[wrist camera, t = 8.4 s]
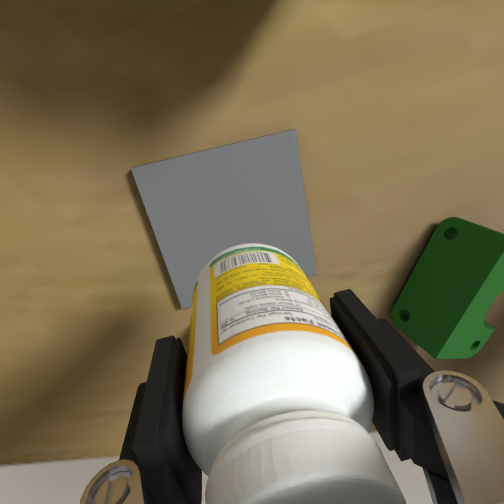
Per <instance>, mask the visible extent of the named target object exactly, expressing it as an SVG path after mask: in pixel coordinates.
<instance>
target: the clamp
mask: <svg viewBox="0 0 504 504" xmlns="http://www.w3.org/2000/svg"><path fill="white" fill-rule="evenodd" d="M502 291H504V234H503V233H500V232H497V231H495V230H492V229H489V228H486V227H483V226H481V225H478V224H475V223H472V222H469V221H466V220H463V219H460V218H456V217H451V218H447V219H445V220H443V221H442V222H441V223H440V224H439V225H438V226H437V228H436V230H435V231H434V233H433V235H432V237H431V239H430V241H429V242H428V244H427V246H426V248H425V250H424V252H423V253H422V255H421V257H420V259H419V261H418V263H417V265H416V266H415V268H414V270H413V272H412V274H411V276H410V277H409V279H408V281H407V283H406V285H405V287H404V289H403V290H402V292H401V294H400V296H399V298H398V300H397V301H396V303H395V305H394V307H393V309H392V320H393V322H394V324H395V325H396V327H397V328H399V329H400V330H401V331H402V332H403V333H405V334H406V335H407V336H408V337H409V338H411V339H412V340H413V341H414V342H415V343H417V344H418V345H419V346H420V347H421V348H423V349H424V350H425V351H426V352H427V353H429V354H430V355H431V356H432V357H433V358H435V359H457V358H470V357H472V356H474V355H475V354H476V353H478V352H479V351H480V350H481V349H482V347H483V346H484V344H485V343H486V342H487V340H488V339H489V337H490V336H491V334H492V333H493V331H494V330H495V328H494V327H492V326H491V325H489V324H488V323H486V322H484V318H485V315H486V312H487V310H488V308H489V307H490V305H491V304H492V302H493V301H494V300H495V298H496V297H497V296H498V295H499V294H500V293H501V292H502Z"/></svg>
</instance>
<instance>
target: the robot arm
mask: <svg viewBox="0 0 504 504" xmlns="http://www.w3.org/2000/svg"><path fill="white" fill-rule="evenodd" d="M330 307H331V314H332V318H333V319H334V321H335V322H336V324H337V325H338V327H339V329H340V330H341V332H342V333H343V335H344V336H345V338H346V339H347V341H348V343H349V344H350V346H351V347H352V349H353V350H354V352H355V353H356V355H357V357H358V358H359V360H360V361H361V363H362V365H363V366H364V368H365V370H366V372H367V374H368V377H369V379H370V382H371V385H372V390H373V396H374V412H373V419H372V422H373V424H374V426H375V427H376V429H377V431H378V433H379V434H380V436H381V438H382V440H383V441H384V443H385V445H386V447H387V448H388V450H390V451H392V450H395V451H396V453H397V455H398V457H399V458H400V460H401V461H404V460H408V459H412V461H413V463H414V464H416V465H418V466H421V467H423V471H424V474H425V477H426V480H427V484H428V487H429V490H430V494H431V497H432V501H433V504H504V404H503V403H499V402H496V401H493V400H492V399H491V398H490V396H489V394H488V393H487V391H486V390H485V389H484V388H483V386H482V385H481V384H480V383H478V382H477V381H476V380H474V379H473V378H471V377H469V376H467V375H465V374H462V373H458V372H455V371H446V370H443V371H436V372H434V371H433V369H432V368H431V367H430V366H429V365H428V364H427V363H426V362H425V361H424V360H423V359H422V358H421V356H420V355H419V354H418V353H417V352H416V351H415V350H414V349H413V348H412V347H411V346H410V345H409V344H408V342H407V341H406V340H405V339H404V338H403V337H402V336H401V335H400V334H399V333H398V332H397V331H396V330H395V328H394V327H393V326H392V325H391V324H390V323H389V322H388V321H387V320H386V319H383V318H382V319H378V320H377V319H376V318H375V317H374V316H373V314H372V313H371V312H370V311H369V310H368V309H367V308H366V306H365V305H364V304H363V303H362V302H361V301H360V300H359V298H358V297H357V296H356V295H355V294H354V293H353V292H352V291H351V290H350V289H347V290H343V291H339V292H336V293H334V297H332V298H330ZM186 365H187V354H186V352H185V349H184V346H183V344H182V341H181V339H180V338H177V339H175V337H174V336H169V337H165V338H161V339H158V340H157V341H156V344H155V349H154V353H153V357H152V362H151V366H150V370H149V375H148V379H147V382H144V383H141V384H140V385H139V387H138V389H137V393H136V397H135V401H134V404H133V408H132V412H131V416H130V420H129V424H128V428H127V431H126V435H125V439H124V443H123V447H122V451H121V455H120V458H119V460H118V461H116V462H113V463H111V464H109V465H107V466H106V467H104V468H103V469H101V470H100V471H99V472H98V473H97V474H96V475H95V476H94V477H93V478H92V480H91V481H90V482H89V484H88V485H87V487H86V488H85V490H84V492H83V495H82V497H81V500H80V504H201V500H202V470H201V469H200V467H199V466H198V465H197V464H196V462H195V461H194V459H193V458H192V456H191V454H190V452H189V450H188V448H187V445H186V442H185V438H184V433H183V427H182V410H183V393H184V386H185V375H186Z"/></svg>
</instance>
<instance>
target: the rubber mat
mask: <svg viewBox="0 0 504 504" xmlns="http://www.w3.org/2000/svg"><path fill="white" fill-rule="evenodd" d="M131 171H132V173H133V176H134V179H135V181H136V184H137V187H138V190H139V192H140V195H141V198H142V201H143V203H144V206H145V209H146V212H147V214H148V217H149V220H150V223H151V225H152V228H153V231H154V233H155V236H156V239H157V242H158V244H159V247H160V250H161V253H162V255H163V258H164V261H165V264H166V266H167V269H168V272H169V275H170V277H171V280H172V283H173V285H174V288H175V291H176V294H177V296H178V299H179V302H180V305H181V307H182V309H184V308H187V307H191V306H192V297H193V290H194V286H195V282H196V279H197V277H198V275H199V273H200V271H201V270H202V269H203V267H204V266H205V265H206V264H207V263H208V261H210V260H211V259H212V258H213V257H214V256H216V255H217V254H219V253H220V252H221V251H223V250H225V249H228V248H230V247H233V246H236V245H241V244H248V243H257V244H265V245H269V246H273V247H276V248H278V249H280V250H282V251H283V252H285V253H286V254H288V255H289V256H290V257H292V258H293V259H294V260H295V261H296V262H297V264H298V265H299V267H300V268H301V269H302V271H303V272H304V274H305V275H306V277H308V276H312V275H315V274H317V273H316V266H315V259H314V252H313V246H312V239H311V232H310V225H309V218H308V211H307V204H306V198H305V191H304V184H303V177H302V170H301V163H300V156H299V150H298V143H297V136H296V129H292V130H288V131H283V132H279V133H275V134H271V135H266V136H262V137H258V138H254V139H250V140H245V141H241V142H237V143H233V144H229V145H224V146H220V147H216V148H212V149H208V150H203V151H199V152H195V153H191V154H187V155H182V156H178V157H174V158H170V159H166V160H161V161H157V162H153V163H149V164H145V165H140V166H136V167H133V168H131Z"/></svg>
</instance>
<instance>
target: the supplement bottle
mask: <svg viewBox="0 0 504 504" xmlns="http://www.w3.org/2000/svg"><path fill="white" fill-rule="evenodd" d="M373 412H374V396H373V390H372V385H371V382H370V379H369V377H368V374H367V372H366V370H365V368H364V366H363V365H362V363H361V361H360V360H359V358H358V357H357V355H356V353H355V352H354V350H353V349H352V347H351V346H350V344H349V343H348V341H347V339H346V338H345V336H344V335H343V333H342V332H341V330H340V329H339V327H338V325H337V324H336V322H335V321H334V319H333V318H332V316H331V315H330V313H329V312H328V310H327V309H326V307H325V305H324V304H323V302H322V301H321V299H320V298H319V296H318V295H317V293H316V292H315V290H314V288H313V287H312V285H311V283H310V282H309V280H308V279H307V277H306V275H305V274H304V272H303V271H302V269H301V268H300V267H299V265H298V264H297V262H296V261H295V260H294V259H293V258H292V257H290V256H289V255H288V254H286V253H285V252H283V251H282V250H280V249H278V248H276V247H273V246H269V245H265V244H257V243H248V244H241V245H236V246H233V247H230V248H228V249H225V250H223V251H221V252H220V253H219V254H217V255H216V256H214V257H213V258H212V259H211V260H210V261H208V263H207V264H206V265H205V266H204V267H203V269H202V270H201V271H200V273H199V275H198V277H197V279H196V282H195V286H194V290H193V297H192V308H191V320H190V332H189V343H188V354H187V365H186V375H185V386H184V393H183V410H182V427H183V433H184V438H185V442H186V445H187V448H188V450H189V452H190V454H191V456H192V458H193V459H194V461H195V462H196V464H197V465H198V466H199V467H200V469H201V470H202V471H203V472H204V473H205V474H206V475H208V476H209V478H208V481H207V485H206V492H205V499H206V504H406V501H405V499H404V496H403V494H402V492H401V490H400V488H399V486H398V484H397V482H396V481H395V478H394V476H393V474H392V472H391V470H390V469H389V467H388V465H387V463H386V461H385V459H384V457H383V455H382V452H381V450H380V448H379V446H378V444H377V443H376V441H375V440H374V439H373V438H372V437H371V436H370V435H369V434H368V433H369V431H370V428H371V424H372V419H373Z"/></svg>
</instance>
